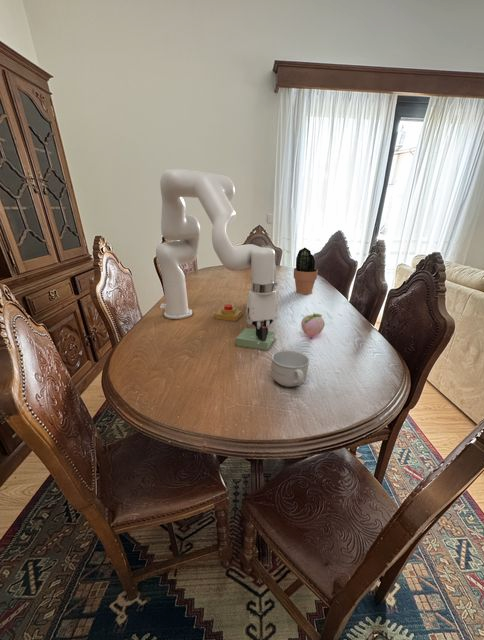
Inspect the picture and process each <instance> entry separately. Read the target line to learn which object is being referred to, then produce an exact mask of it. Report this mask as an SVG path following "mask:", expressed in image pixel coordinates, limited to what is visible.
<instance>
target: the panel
mask: <svg viewBox="0 0 484 640" xmlns="http://www.w3.org/2000/svg"><path fill="white" fill-rule="evenodd" d="M275 340H276V331H269V330H268V335H267V338H266V341H263V342H262V341H261V340H260V339H259V338H258V337H257V336H256V328H248V327H244V329H243V330H242V331H241V332H240V333H239V334H238V336H236V338H235V342H236V343H235V346H237V347H243V348H250V349H257V350H263V351H269V349H270V347H271V346H272V344H273V342H274V341H275Z"/></svg>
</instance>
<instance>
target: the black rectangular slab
mask: <svg viewBox="0 0 484 640" xmlns="http://www.w3.org/2000/svg"><path fill="white" fill-rule="evenodd" d="M260 327H261V329H262V338H261V339H260V340H261V341H262V342H263V341H266V327H265V326H263V323H260Z"/></svg>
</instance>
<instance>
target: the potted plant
mask: <svg viewBox="0 0 484 640" xmlns="http://www.w3.org/2000/svg"><path fill="white" fill-rule="evenodd" d="M315 267H316V260H315V256H314V255H313V254H312V251H311V250H310V249H308V248H306V247H303V248H301V249H300V250H298V252H297V255H296V258H295V267H294V268H293V279H294V284H295V292H296V293H297V294H299V295H310V294H312V292H313V289H314V286H315V282H316V280H317V279H318V273H319V270H318V269H317V268H315Z"/></svg>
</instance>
